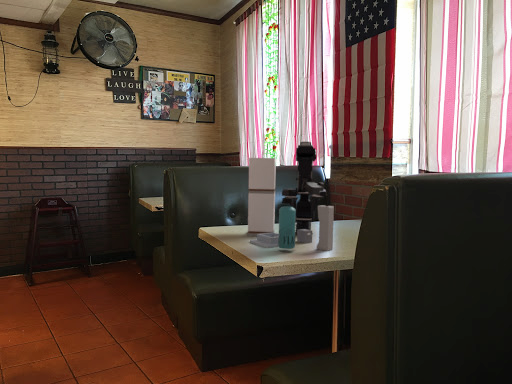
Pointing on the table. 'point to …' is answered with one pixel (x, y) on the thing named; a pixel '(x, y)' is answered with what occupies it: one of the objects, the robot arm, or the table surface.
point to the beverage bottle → (287, 225)
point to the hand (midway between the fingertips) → (303, 213)
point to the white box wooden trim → (261, 195)
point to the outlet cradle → (266, 240)
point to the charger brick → (304, 236)
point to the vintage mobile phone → (325, 226)
